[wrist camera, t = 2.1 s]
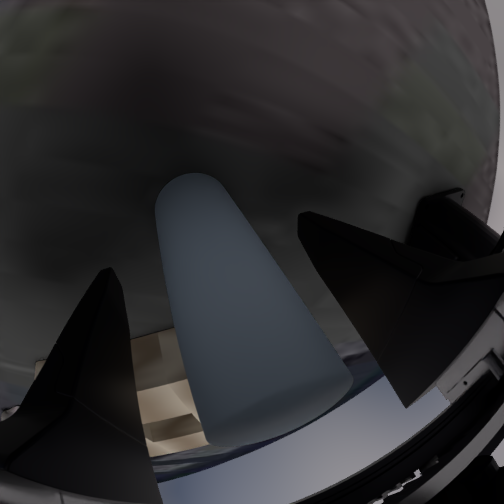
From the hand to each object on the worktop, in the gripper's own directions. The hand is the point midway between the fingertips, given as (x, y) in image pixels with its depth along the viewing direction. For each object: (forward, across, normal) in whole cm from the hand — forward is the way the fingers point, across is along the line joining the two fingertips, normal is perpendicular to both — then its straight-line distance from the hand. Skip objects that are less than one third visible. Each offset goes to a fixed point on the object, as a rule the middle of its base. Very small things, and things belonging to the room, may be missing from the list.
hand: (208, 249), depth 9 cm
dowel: (+3, 0, 0) cm, 3 cm away
